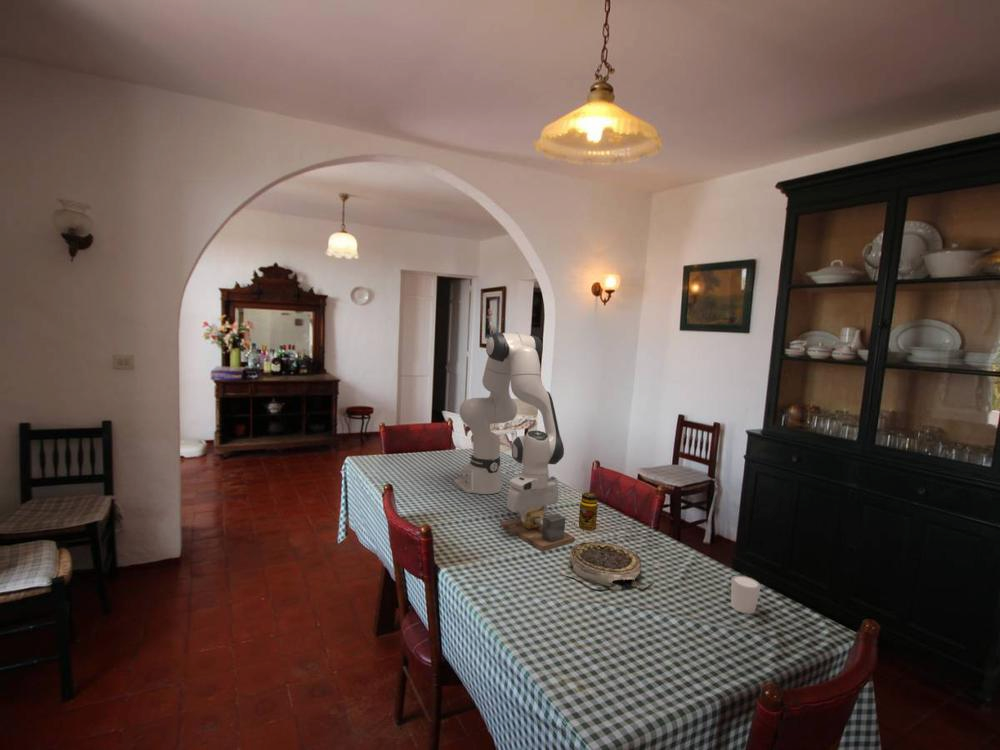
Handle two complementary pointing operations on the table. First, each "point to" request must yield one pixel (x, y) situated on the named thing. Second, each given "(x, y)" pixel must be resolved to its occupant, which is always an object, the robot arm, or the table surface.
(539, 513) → the nut
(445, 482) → the table surface
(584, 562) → the pie
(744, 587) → the white cup
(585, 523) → the condiment
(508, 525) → the rod board
